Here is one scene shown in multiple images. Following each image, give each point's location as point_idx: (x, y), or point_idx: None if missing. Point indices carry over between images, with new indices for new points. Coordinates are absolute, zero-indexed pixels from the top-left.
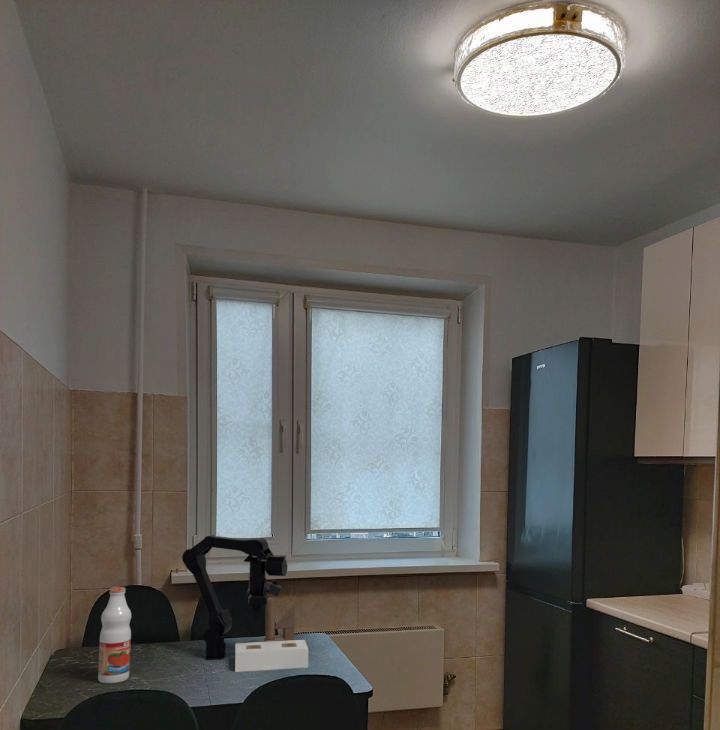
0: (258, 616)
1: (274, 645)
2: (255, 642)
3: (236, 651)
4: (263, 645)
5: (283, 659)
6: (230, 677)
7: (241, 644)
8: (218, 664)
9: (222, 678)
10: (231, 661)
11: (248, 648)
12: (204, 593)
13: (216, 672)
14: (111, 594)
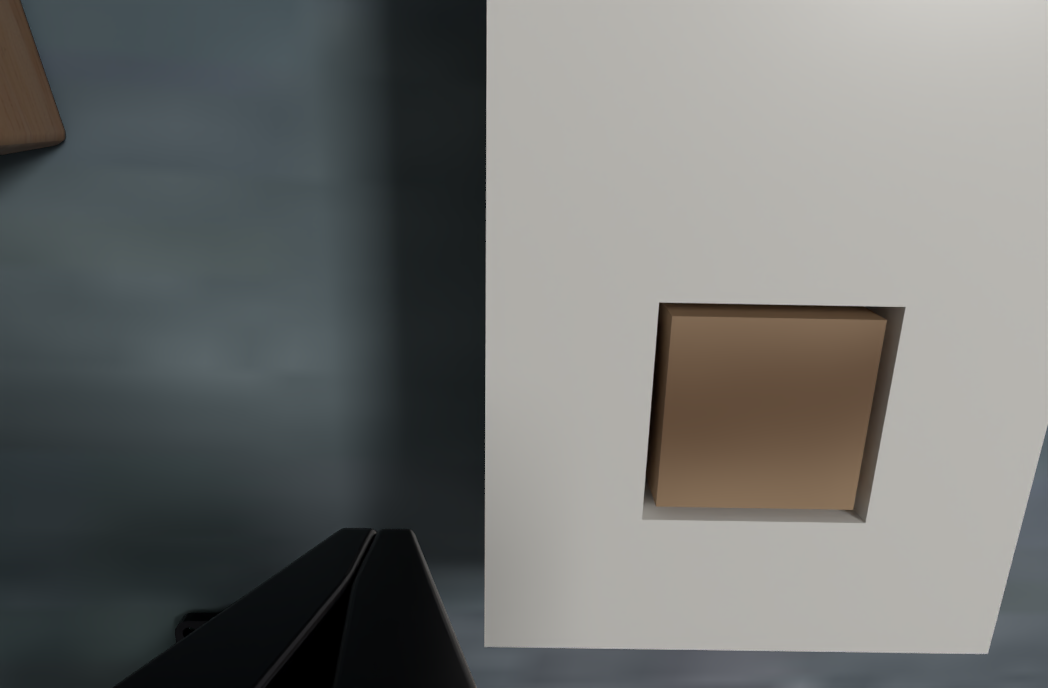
0: (436, 603)
1: (795, 61)
2: (502, 376)
3: (928, 643)
4: (730, 259)
5: None
6: (1031, 561)
7: (573, 575)
8: (558, 658)
9: (1029, 626)
10: (478, 545)
11: (818, 489)
12: None
13: (819, 672)
14: None
